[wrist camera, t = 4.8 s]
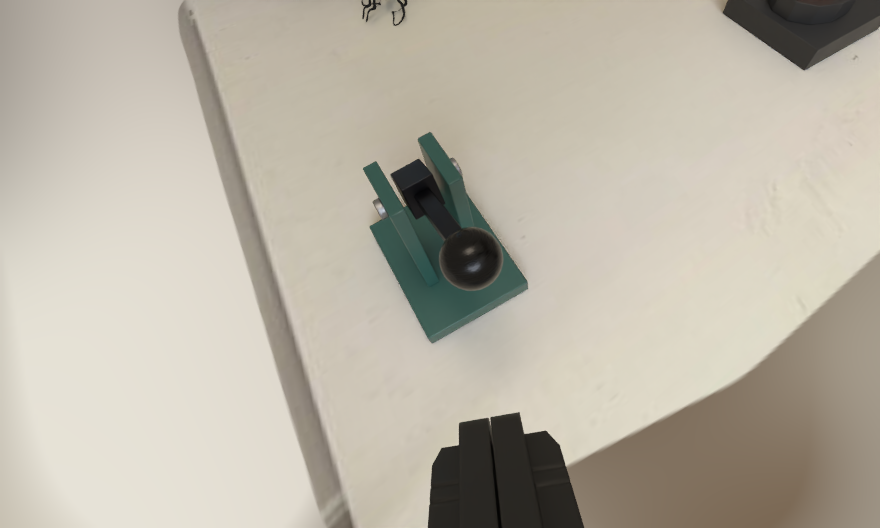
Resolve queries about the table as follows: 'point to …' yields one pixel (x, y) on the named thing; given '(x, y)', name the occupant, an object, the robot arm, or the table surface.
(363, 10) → the creature
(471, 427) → the robot arm
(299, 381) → the table surface
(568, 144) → the table surface
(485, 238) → the control lever
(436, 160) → the lever base
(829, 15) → the control block
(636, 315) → the table surface
